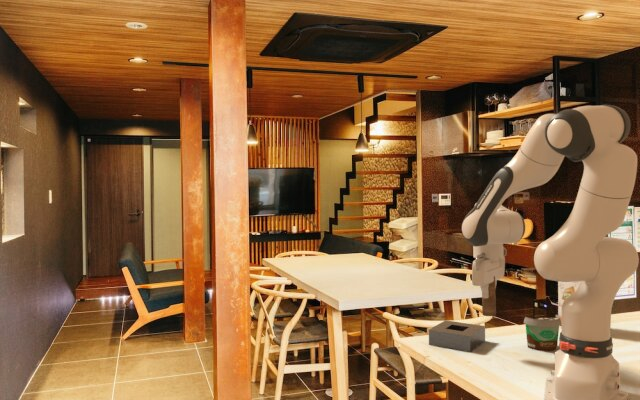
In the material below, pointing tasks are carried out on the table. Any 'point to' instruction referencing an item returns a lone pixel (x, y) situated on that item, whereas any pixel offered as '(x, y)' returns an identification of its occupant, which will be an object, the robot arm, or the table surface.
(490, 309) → the walnut peg
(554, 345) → the food container
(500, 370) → the table surface
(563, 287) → the cracker box
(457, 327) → the socket block
